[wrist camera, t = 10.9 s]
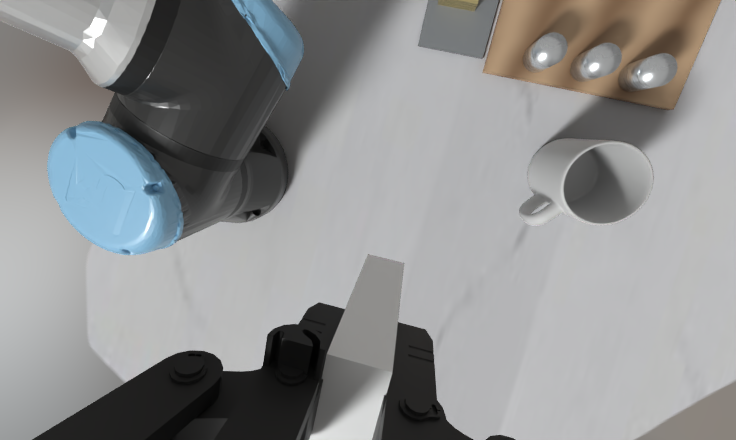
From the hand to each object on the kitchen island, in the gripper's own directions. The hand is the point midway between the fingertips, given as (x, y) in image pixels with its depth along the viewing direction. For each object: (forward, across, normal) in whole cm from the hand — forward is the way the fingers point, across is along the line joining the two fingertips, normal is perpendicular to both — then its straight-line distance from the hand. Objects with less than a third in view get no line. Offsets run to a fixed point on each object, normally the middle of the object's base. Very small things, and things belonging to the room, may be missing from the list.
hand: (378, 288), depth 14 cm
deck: (+34, +17, +23) cm, 45 cm away
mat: (+34, +2, +23) cm, 41 cm away
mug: (+35, +18, +4) cm, 39 cm away
